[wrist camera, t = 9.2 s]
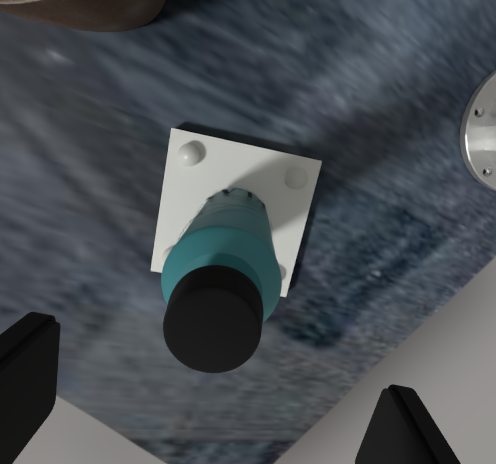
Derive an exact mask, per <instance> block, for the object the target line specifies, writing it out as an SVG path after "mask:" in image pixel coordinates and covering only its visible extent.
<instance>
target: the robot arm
mask: <svg viewBox="0 0 496 464" xmlns="http://www.w3.org/2000/svg"><path fill="white" fill-rule="evenodd" d="M474 113H475V114H474ZM460 146H461V153H462V156H463V159H464V162H465V164H466V166H467V168H468V170H469V171H470V173H471V174H472V176H473V177H474V178H476V179H477V180H478V181H479V182H480V183H481V184H482V185H484V186H486V187H487V188H489V189H491V190H494V191H496V69H495V70H494V71H493V72H492V73H490V74H489V75H488V76H487V77H486V78H485V79H484V80H483V82H482V83H481V84H480V85H479V86H478V87H477V89H476V90H475V92H474V94H473V95H472V97H471V99H470V100H469V102H468V105H467V107H466V110H465V112H464V114H463V119H462V123H461V128H460ZM59 340H60V324H59V323H58V322H56V321H55V317H54V316H52V315H47V314H42V313H37V312H30V313H28V314H27V315H26V316H24V317H23V318H22V319H20V320H19V321H18V322H16V323H15V324H14V325H12V326H11V327H10V328H8V329H7V330H6V331H4V332H3V333H2V334H1V335H0V464H12V463H13V462H14V461H15V459H16V458H17V457H18V455H19V454H20V453H21V451H22V450H23V449H24V447H25V446H26V445H27V443H28V442H29V441H30V439H31V438H32V437H33V435H34V434H35V433H36V432H37V430H38V429H39V428H40V426H41V425H42V424H43V422H44V421H45V420H46V418H47V417H48V416H49V414H50V413H51V411H52V409H53V407H54V404H55V400H56V386H57V371H58V355H59ZM355 464H460V462H459V460H458V459H457V457H456V456H455V454H454V452H453V451H452V449H451V447H450V446H449V444H448V443H447V441H446V440H445V438H444V436H443V435H442V433H441V431H440V430H439V428H438V427H437V425H436V424H435V422H434V420H433V419H432V417H431V415H430V414H429V412H428V411H427V409H426V407H425V406H424V404H423V403H422V401H421V400H420V398H419V396H418V395H417V393H416V392H415V390H414V389H412V388H408V387H403V386H398V385H390V386H389V387H388V389H383V390H382V392H381V395H380V397H379V400H378V402H377V405H376V408H375V410H374V413H373V415H372V418H371V421H370V423H369V425H368V428H367V431H366V433H365V436H364V438H363V441H362V443H361V446H360V449H359V451H358V454H357V457H356V460H355Z"/></svg>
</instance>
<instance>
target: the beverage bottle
mask: <svg viewBox="0 0 496 464" xmlns="http://www.w3.org/2000/svg"><path fill="white" fill-rule="evenodd" d="M245 189H246V188H245ZM217 191H219V190H217ZM217 191H215V192H217ZM250 191H251V190H250ZM212 194H213V193H212ZM254 194H255V193H254ZM254 194H253V193H251V192H249V190H248V191H247V190H244V189H239V188H238V187H237V188H236V187H235V188H234V187H233V188H230V187H229V189H223V190H220V191H219V192H217V193H214V194H213V196H211V197H210V196H209V198H207V199H206V201H207V200H208V201H207V202H206V203H205V204H204V206H203V207H202V209H201V210H199V213H198V214H197V215H196V217H195V218H193V219H191V221H192V220H193V221H192V223H191V224H190V225H189V227H188V228H187V230H186V231H185V233H184V229H183V233H184V234H183V235H182V236H181V238H180V236H179V239H180V240H179V239H178V240H179V241H178V242H177V243H176V245H175V246H173V248H172V250H171V251H170V253H169V254H168V256H167V258H166V260H165V263H164V266H163V270H162V277H161V284H162V291H163V296H164V298H165V301H166V304H167V305H168V306H167V310H166V313H165V317H164V322H163V331H164V338H165V342H166V344H167V346H168V348H169V350H170V351H171V353H172V354H173V355H174V356H175V357H176V358H177V359H178V360H179V361H180V362H181V363H183V364H184V365H186V366H188V367H190V368H192V369H194V370H197V371H201V372H206V373H221V372H227V371H230V370H233V369H235V368H237V367H239V366H241V365H242V364H244V363H245V362H246V361H247V360H248V359H249V358H250V357H251V356H252V355H253V353H254V352H255V350H256V348H257V346H258V344H259V341H260V337H261V330H262V323H264V322H265V321H266V320H267V319H268V317H269V316H270V315H271V314H272V312H273V311H274V309H275V307H276V305H277V303H278V301H279V298H280V294H281V288H282V277H281V271H280V267H279V264H278V261H277V259H276V255H275V250H274V245H273V241H274V240H273V241H272V236H273V235H272V233H271V232H272V231H271V229H270V228H271V227H272V226H271V227H270V225H272V224H271V223H270V224H269V219H268V215H267V211H266V208H265V204H264V203H263V202H261V200H260V199H259V198H258V197H257V196H256V195H254ZM197 212H198V211H197ZM195 214H196V213H195ZM191 221H189V223H190V222H191ZM187 226H188V224H187ZM187 226H186V227H187ZM186 227H185V228H186ZM272 229H273V228H272ZM181 234H182V233H181ZM273 238H274V237H273Z"/></svg>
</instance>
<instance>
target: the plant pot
mask: <svg viewBox="0 0 496 464" xmlns="http://www.w3.org/2000/svg"><path fill="white" fill-rule="evenodd" d="M165 1H166V0H0V11H3V12H6V13H10V14H13V15H16V16H20V17H23V18H27V19H30V20H34V21H38V22H42V23H46V24H51V25H55V26H60V27H66V28H71V29H77V30H84V31H94V32H119V31H127V30H132V29H136V28H139V27H142V26H144V25H146V24H148V23H149V22H151V21H152V20H153V19H154V18H155V17H156V16H157V15H158V14H159V13H160V11H161V10H162V8H163V6H164V4H165Z"/></svg>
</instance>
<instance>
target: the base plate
mask: <svg viewBox="0 0 496 464" xmlns="http://www.w3.org/2000/svg"><path fill="white" fill-rule="evenodd" d="M321 164H322V161H320V160H315V159H311V158H306V157H301V156H297V155H292V154H288V153H283V152H279V151H274V150H270V149H265V148H261V147H256V146H252V145H247V144H243V143H238V142H233V141H229V140H224V139H220V138H215V137H211V136H206V135H202V134H197V133H193V132H188V131H184V130H179V129H174V128H171V134H170V141H169V148H168V155H167V162H166V168H165V175H164V182H163V189H162V196H161V203H160V210H159V217H158V223H157V230H156V237H155V244H154V251H153V258H152V265H151V271H155V272H161V273H162V270H163V266H164V263H165V260H166V258H167V256H168V254H169V253H170V251H171V250H172V248H173V246H175V245H176V243H177V242H178V241H179V240H180V239H179V236H180V238H181V236H182V235H183V234H184V233H185V231H186V230H187V228H188V227H189V225H190V224H191V223H192V221H193V220H192V221H191V219H193V218H195V217H196V215H197V214H198V213H199V210H201V209H202V207H203V206H204V204H205V203H206V202H207V201H208V200H207V201H206V199H207V198H209V196H210V197H211V196H213V194H214V193H217V192H219V191H220V190H223V189H229V187H230V188H233V187H234V188H235V187H236V188H237V187H238V188H239V189H244V190H247V191H248V190H249V192H251V193H253V194H254V193H255V194H254V195H256V196H257V197H258V198H259V199H260V200H261V202H263V203H264V204H265V208H266V211H267V215H268V219H269V224H270V223H271V224H272V225H270V227H271V226H272V227H271V228H270V229H271V231H272V232H271V233H272V235H273V236H272V241H273V240H274V241H273V245H274V250H275V255H276V259H277V261H278V264H279V267H280V271H281V277H282V288H281V294H280V296H283V297H286V295H287V291H288V288H289V284H290V280H291V276H292V273H293V269H294V265H295V261H296V258H297V254H298V250H299V246H300V243H301V239H302V235H303V231H304V227H305V224H306V220H307V216H308V212H309V209H310V205H311V201H312V197H313V194H314V190H315V186H316V182H317V179H318V175H319V171H320V167H321ZM245 188H246V189H245ZM217 190H219V191H217ZM250 190H251V191H250ZM215 191H217V192H215ZM212 193H213V194H212ZM197 211H198V212H197ZM195 213H196V214H195ZM189 221H191V222H190V223H189ZM187 224H188V226H187ZM186 226H187V227H186ZM185 227H186V228H185ZM272 228H273V229H272ZM183 229H184V233H183ZM181 233H182V234H181ZM273 237H274V238H273ZM178 239H179V240H178Z"/></svg>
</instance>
